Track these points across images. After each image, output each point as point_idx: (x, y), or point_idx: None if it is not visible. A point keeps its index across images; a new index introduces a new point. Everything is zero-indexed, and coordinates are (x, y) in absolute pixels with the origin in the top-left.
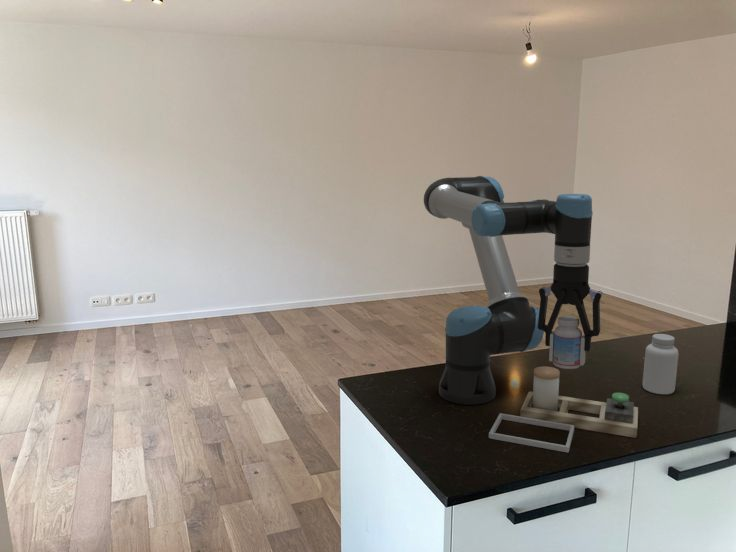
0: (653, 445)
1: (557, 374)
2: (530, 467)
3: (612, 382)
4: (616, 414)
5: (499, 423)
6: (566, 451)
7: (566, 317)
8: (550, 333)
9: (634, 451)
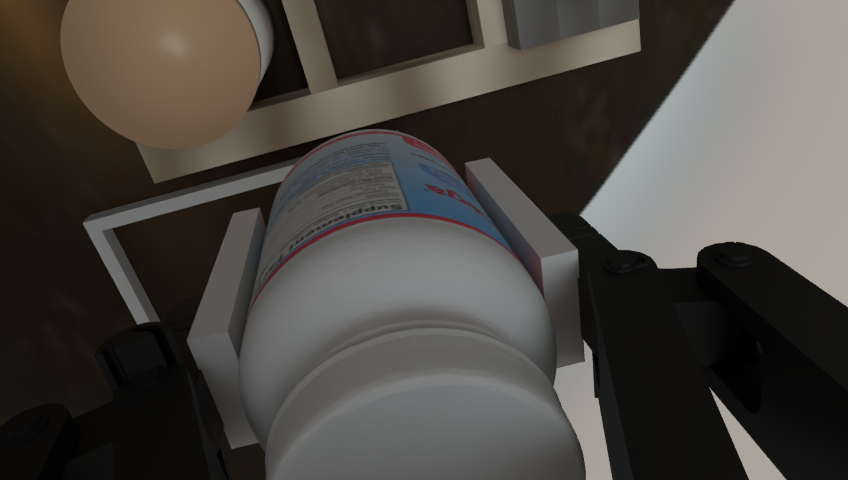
0: (676, 69)
1: (257, 77)
2: None
3: None
4: (567, 36)
5: (130, 266)
6: None
7: (374, 474)
8: (218, 423)
9: (622, 157)
